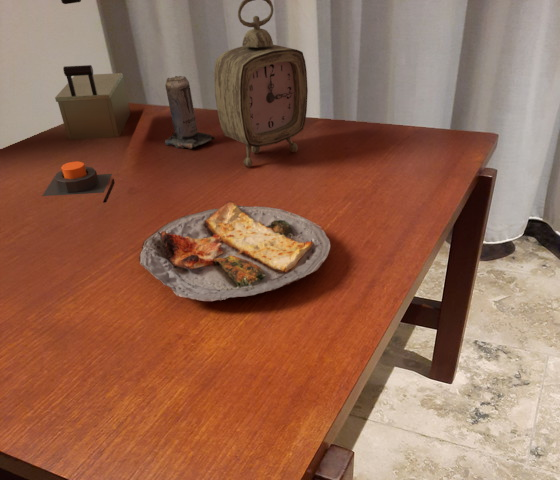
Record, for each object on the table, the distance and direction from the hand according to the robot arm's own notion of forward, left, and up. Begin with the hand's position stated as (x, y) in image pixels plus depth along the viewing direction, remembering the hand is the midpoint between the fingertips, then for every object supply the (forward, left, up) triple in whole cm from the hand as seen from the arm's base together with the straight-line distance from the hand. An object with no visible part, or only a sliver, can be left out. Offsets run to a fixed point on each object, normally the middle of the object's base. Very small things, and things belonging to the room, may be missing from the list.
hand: (59, 0), depth 93 cm
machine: (0, +9, -25) cm, 26 cm away
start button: (+2, -22, -22) cm, 31 cm away
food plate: (+28, -47, -25) cm, 60 cm away
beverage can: (+19, 0, -25) cm, 31 cm away
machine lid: (0, +8, -16) cm, 18 cm away
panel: (+2, -22, -25) cm, 33 cm away
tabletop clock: (+33, -9, -25) cm, 42 cm away
